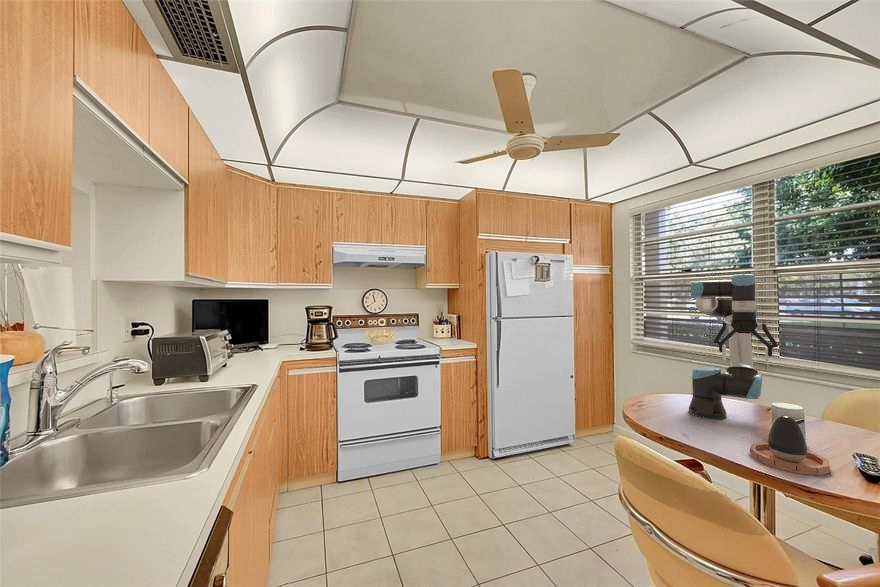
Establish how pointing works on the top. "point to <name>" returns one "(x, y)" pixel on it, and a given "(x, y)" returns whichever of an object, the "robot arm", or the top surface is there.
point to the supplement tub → (788, 413)
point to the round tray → (808, 466)
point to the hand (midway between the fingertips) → (744, 362)
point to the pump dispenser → (787, 439)
